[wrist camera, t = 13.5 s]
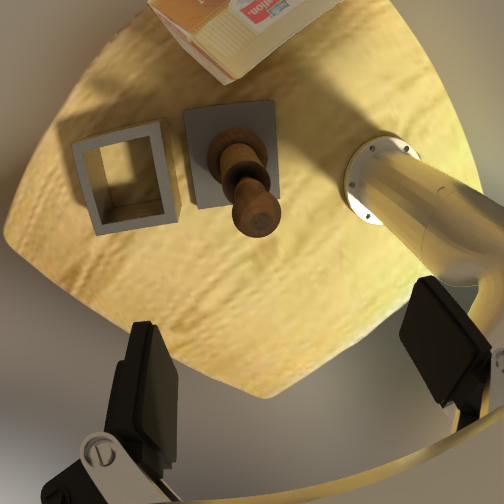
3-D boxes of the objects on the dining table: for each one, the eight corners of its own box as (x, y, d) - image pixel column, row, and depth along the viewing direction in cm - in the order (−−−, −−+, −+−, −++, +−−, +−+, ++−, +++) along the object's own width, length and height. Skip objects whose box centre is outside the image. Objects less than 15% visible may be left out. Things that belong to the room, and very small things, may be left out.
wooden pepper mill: (235, 115, 30) (261, 143, 15) (276, 153, 33) (335, 217, 18) (195, 158, 32) (180, 229, 17) (236, 193, 35) (259, 287, 20)
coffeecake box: (277, -27, 22) (340, -110, 5) (319, 12, 25) (419, -37, 9) (179, 48, 26) (139, 0, 10) (224, 88, 29) (240, 84, 13)
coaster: (272, 99, 31) (273, 100, 30) (278, 195, 37) (280, 198, 36) (183, 110, 30) (182, 110, 29) (198, 206, 36) (197, 209, 35)
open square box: (166, 117, 30) (159, 121, 26) (181, 205, 36) (177, 222, 32) (88, 136, 29) (70, 144, 25) (108, 217, 35) (96, 236, 31)
